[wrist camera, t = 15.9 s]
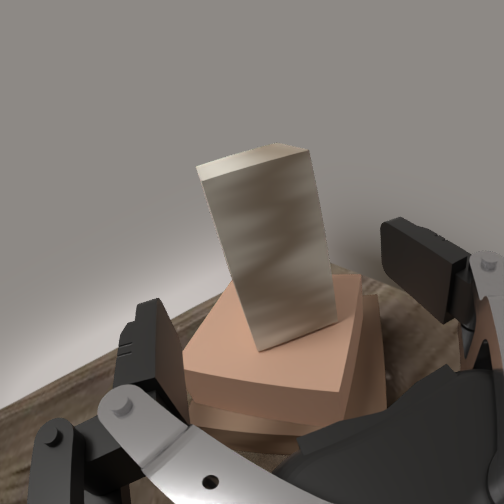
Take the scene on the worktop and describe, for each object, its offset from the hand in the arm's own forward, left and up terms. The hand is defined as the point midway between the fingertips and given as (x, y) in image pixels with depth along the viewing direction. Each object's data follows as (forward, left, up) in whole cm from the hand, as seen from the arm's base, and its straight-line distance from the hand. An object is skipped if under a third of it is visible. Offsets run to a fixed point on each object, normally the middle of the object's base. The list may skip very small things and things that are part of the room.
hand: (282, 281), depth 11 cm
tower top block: (-3, +6, -11) cm, 13 cm away
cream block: (-2, +7, -7) cm, 10 cm away
